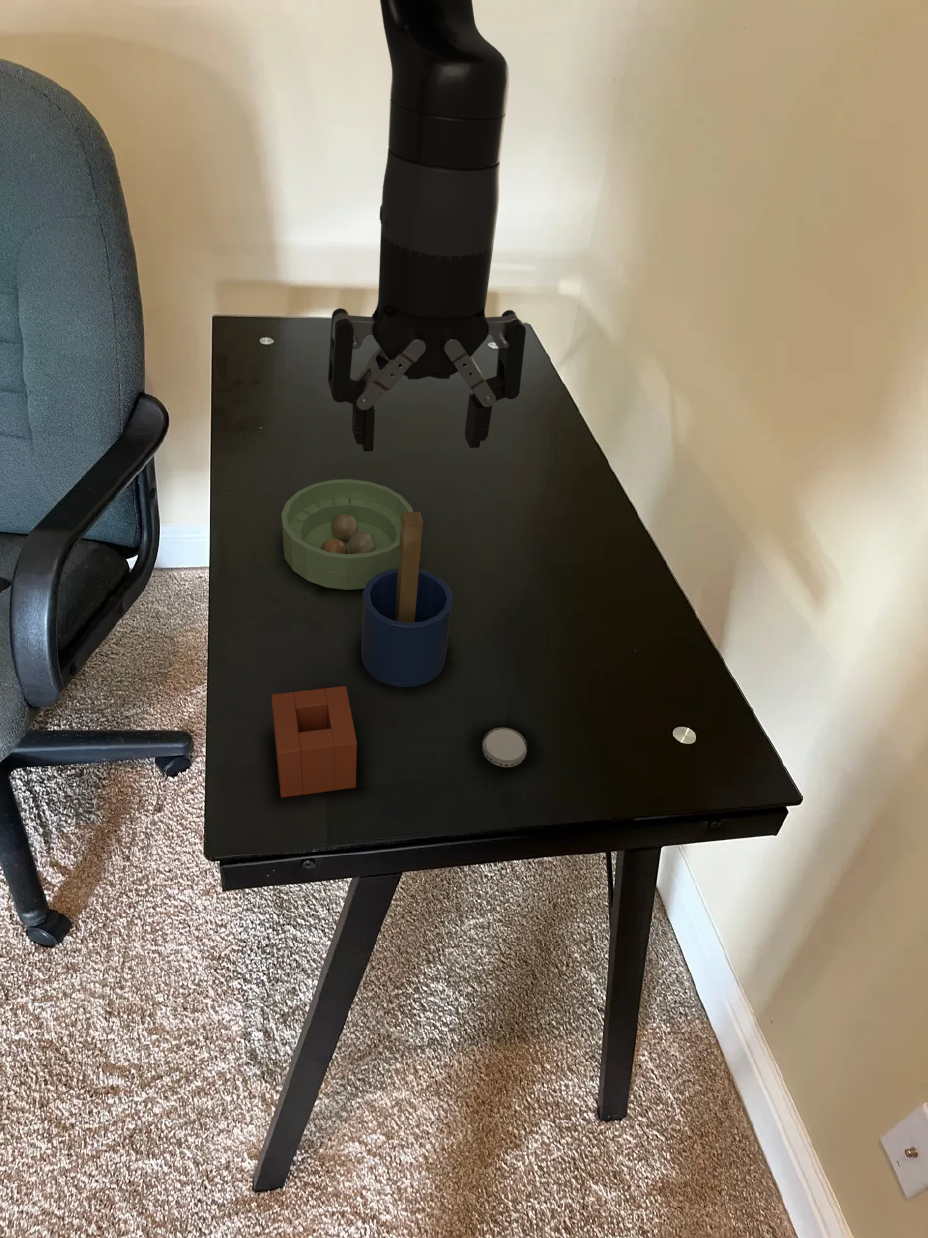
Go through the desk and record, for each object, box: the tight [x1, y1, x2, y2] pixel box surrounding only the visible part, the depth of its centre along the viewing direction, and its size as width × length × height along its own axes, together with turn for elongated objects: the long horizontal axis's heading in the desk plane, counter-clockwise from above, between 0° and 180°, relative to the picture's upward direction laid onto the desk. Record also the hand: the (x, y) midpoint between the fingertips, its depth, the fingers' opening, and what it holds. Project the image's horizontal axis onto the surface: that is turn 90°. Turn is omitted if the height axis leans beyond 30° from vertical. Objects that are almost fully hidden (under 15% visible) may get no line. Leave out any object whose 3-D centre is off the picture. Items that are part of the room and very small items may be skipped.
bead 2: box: [320, 538, 348, 554], centre depth 89 cm, size 3×3×3 cm
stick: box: [395, 511, 424, 623], centre depth 76 cm, size 2×2×16 cm
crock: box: [360, 568, 454, 688], centre depth 79 cm, size 8×8×8 cm
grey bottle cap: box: [481, 727, 528, 768], centre depth 74 cm, size 4×4×1 cm
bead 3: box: [348, 532, 376, 554], centre depth 90 cm, size 3×3×3 cm
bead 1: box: [331, 513, 358, 540], centre depth 92 cm, size 3×3×3 cm
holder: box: [270, 685, 358, 799], centre depth 69 cm, size 6×6×6 cm
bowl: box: [280, 478, 414, 591], centre depth 91 cm, size 14×14×5 cm
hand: (420, 444), depth 65 cm, fingers open, 8 cm apart
